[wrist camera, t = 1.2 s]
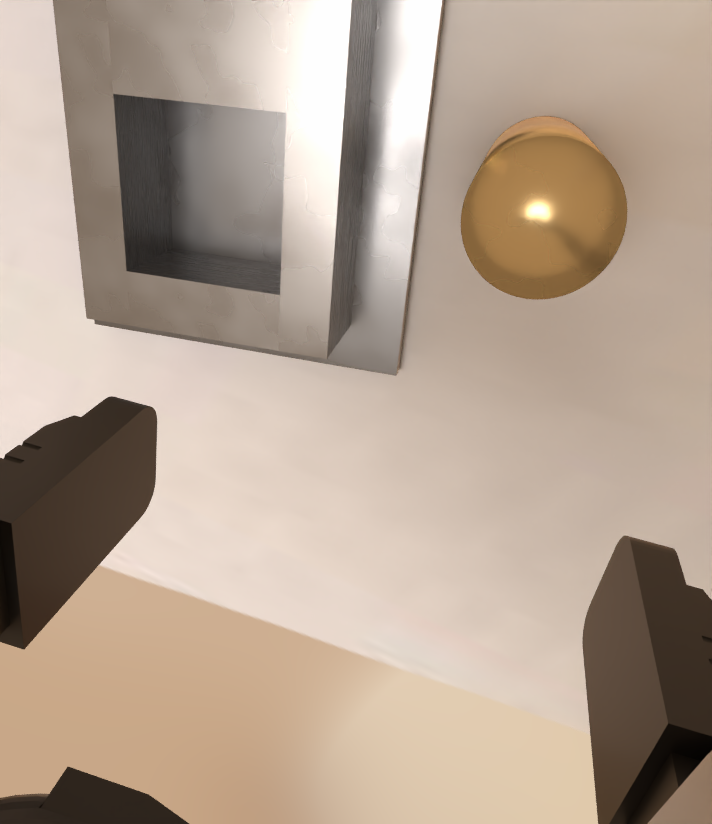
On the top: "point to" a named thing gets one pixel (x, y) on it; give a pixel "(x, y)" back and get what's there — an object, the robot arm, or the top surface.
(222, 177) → the jig
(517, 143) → the gold and grey cylinder
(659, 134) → the top surface
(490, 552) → the top surface
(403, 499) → the top surface
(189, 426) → the top surface
